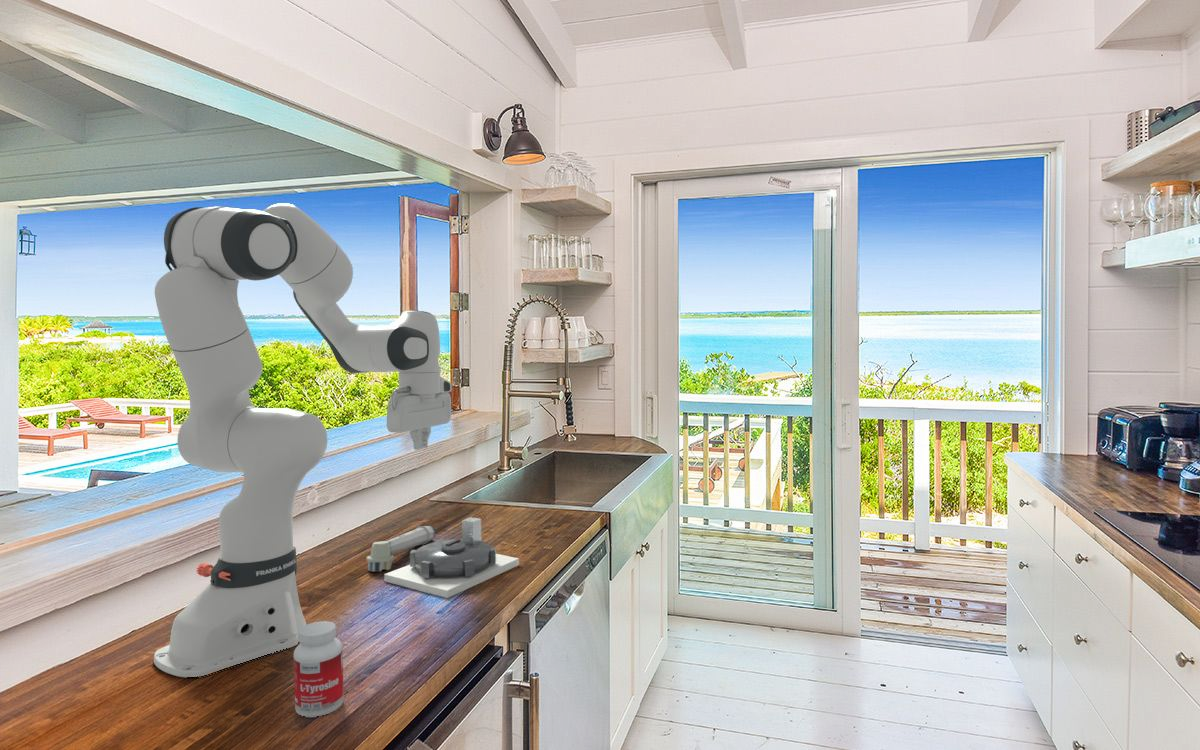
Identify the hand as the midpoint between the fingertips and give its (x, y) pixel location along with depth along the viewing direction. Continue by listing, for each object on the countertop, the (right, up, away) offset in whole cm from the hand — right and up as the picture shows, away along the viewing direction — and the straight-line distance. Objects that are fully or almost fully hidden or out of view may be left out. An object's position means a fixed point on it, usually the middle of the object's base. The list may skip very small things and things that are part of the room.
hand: (420, 448), depth 147 cm
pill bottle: (+1, -30, -55) cm, 62 cm away
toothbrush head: (-7, -27, +10) cm, 29 cm away
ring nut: (+8, -24, -3) cm, 26 cm away
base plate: (+8, -26, -3) cm, 28 cm away
